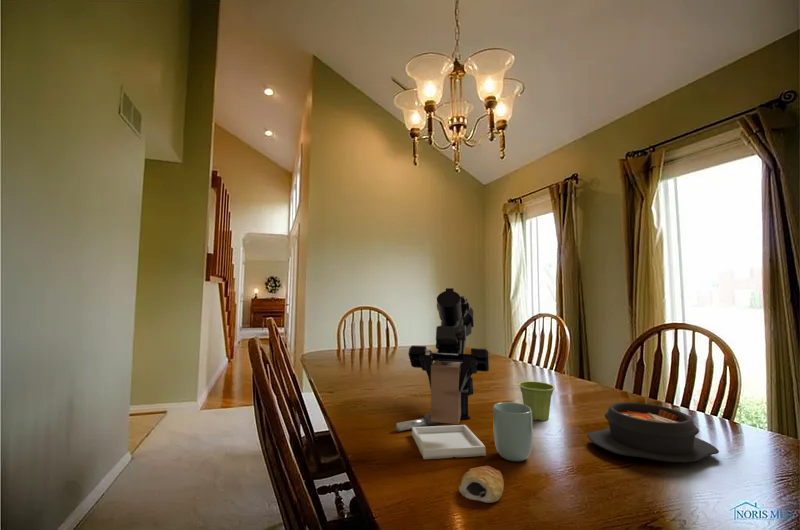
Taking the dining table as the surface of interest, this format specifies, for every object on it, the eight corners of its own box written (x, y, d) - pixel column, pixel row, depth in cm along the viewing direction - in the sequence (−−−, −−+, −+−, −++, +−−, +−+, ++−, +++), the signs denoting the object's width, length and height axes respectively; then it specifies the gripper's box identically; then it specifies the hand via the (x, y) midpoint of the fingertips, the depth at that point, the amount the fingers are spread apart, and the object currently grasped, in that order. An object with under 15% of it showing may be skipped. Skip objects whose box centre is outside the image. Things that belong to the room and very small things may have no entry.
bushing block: (435, 412, 86) (435, 360, 87) (461, 415, 85) (460, 361, 86) (430, 421, 80) (430, 365, 81) (458, 424, 79) (458, 366, 80)
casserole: (671, 434, 89) (669, 399, 90) (748, 471, 71) (744, 426, 71) (571, 435, 88) (570, 400, 89) (622, 473, 69) (620, 427, 70)
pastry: (475, 474, 69) (475, 453, 69) (511, 484, 66) (511, 461, 66) (456, 497, 61) (456, 473, 61) (497, 510, 57) (496, 484, 58)
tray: (465, 432, 89) (465, 424, 90) (485, 455, 76) (485, 446, 77) (412, 435, 87) (412, 427, 88) (423, 459, 74) (423, 450, 75)
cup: (536, 467, 71) (534, 414, 72) (494, 463, 73) (493, 411, 74) (530, 451, 79) (529, 403, 80) (492, 448, 80) (492, 401, 81)
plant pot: (562, 419, 100) (561, 386, 101) (541, 425, 95) (540, 391, 95) (533, 410, 108) (532, 379, 108) (512, 415, 102) (511, 384, 103)
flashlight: (431, 422, 96) (431, 411, 96) (437, 426, 94) (437, 415, 94) (394, 429, 91) (395, 418, 91) (400, 433, 88) (400, 421, 89)
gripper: (410, 312, 90) (398, 366, 79) (487, 313, 86) (487, 371, 74) (416, 340, 97) (406, 394, 86) (488, 343, 93) (488, 400, 81)
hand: (445, 389), depth 82 cm, fingers closed on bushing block, 6 cm apart
